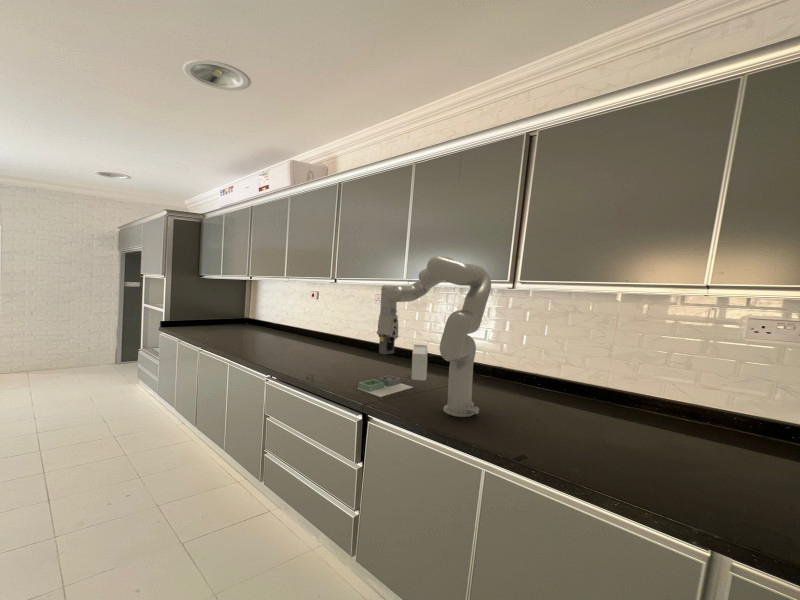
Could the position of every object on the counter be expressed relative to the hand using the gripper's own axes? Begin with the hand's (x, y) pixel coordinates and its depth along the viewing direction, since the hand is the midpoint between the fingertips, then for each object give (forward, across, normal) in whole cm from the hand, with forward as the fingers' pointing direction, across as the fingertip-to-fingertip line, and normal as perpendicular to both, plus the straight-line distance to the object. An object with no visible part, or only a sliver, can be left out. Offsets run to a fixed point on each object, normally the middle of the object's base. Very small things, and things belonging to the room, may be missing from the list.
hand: (386, 349), depth 166 cm
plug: (+2, 0, 0) cm, 2 cm away
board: (+20, 0, 0) cm, 20 cm away
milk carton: (+20, +1, -26) cm, 33 cm away
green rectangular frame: (+19, +4, +5) cm, 20 cm away
